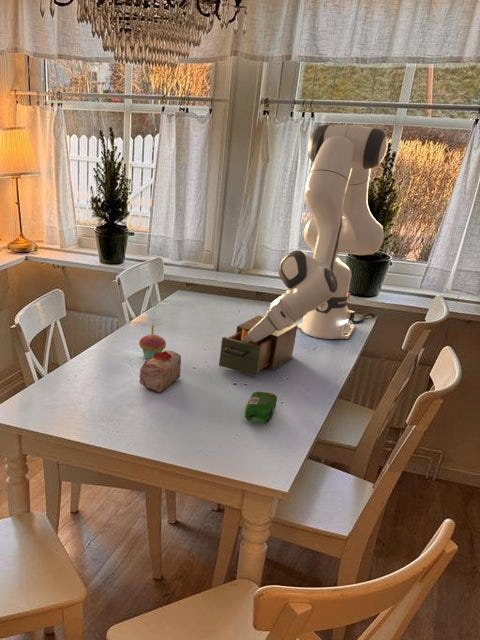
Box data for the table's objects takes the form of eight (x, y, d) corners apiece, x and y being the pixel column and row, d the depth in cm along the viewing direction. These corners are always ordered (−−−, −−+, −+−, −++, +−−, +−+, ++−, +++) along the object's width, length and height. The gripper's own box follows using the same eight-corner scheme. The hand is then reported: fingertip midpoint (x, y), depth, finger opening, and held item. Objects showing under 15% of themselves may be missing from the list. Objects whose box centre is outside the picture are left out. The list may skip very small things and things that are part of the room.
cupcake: (162, 363, 203) (165, 326, 197) (135, 360, 205) (137, 323, 198) (166, 354, 211) (169, 317, 204) (140, 351, 212) (142, 314, 206)
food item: (161, 395, 183) (164, 362, 178) (136, 389, 186) (138, 356, 181) (182, 379, 193) (185, 347, 188) (158, 373, 196) (160, 342, 191)
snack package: (240, 426, 169) (243, 408, 166) (251, 402, 181) (254, 385, 178) (268, 432, 167) (271, 413, 164) (276, 407, 179) (280, 390, 176)
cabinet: (271, 370, 202) (277, 336, 197) (232, 358, 209) (237, 326, 204) (291, 357, 213) (297, 324, 207) (253, 346, 219) (258, 315, 214)
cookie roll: (244, 347, 203) (247, 323, 199) (258, 351, 200) (262, 327, 196) (236, 352, 199) (239, 327, 195) (251, 356, 197) (255, 331, 193)
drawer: (249, 380, 192) (253, 351, 188) (212, 369, 199) (215, 341, 194) (275, 363, 205) (280, 336, 200) (239, 353, 211) (243, 326, 206)
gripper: (287, 294, 197) (251, 320, 205) (269, 311, 181) (230, 338, 190) (299, 311, 197) (263, 336, 206) (282, 330, 182) (243, 356, 190)
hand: (247, 337), depth 198 cm, fingers closed on cookie roll, 5 cm apart
